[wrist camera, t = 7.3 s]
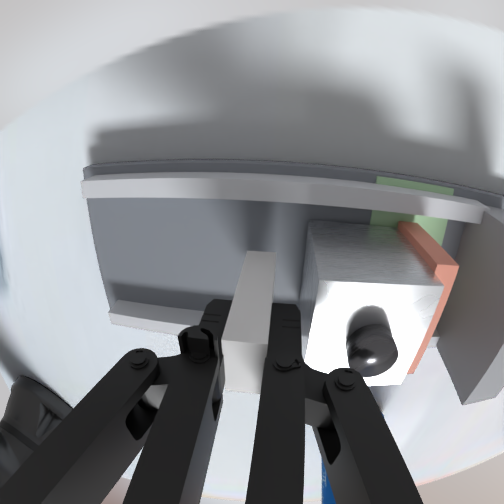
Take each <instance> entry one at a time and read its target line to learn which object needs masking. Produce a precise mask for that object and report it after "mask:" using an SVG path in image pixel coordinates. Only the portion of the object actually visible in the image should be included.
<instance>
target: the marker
mask: <svg viewBox="0 0 504 504" xmlns="http://www.w3.org/2000/svg"><path fill="white" fill-rule="evenodd" d="M397 228H398V229H399V230H400V231H401V232H402V234H403V235H404V236H405V237H406V238H407V239H408V241H409V242H410V243H411V244H412V245H413V247H414V248H415V249H416V250H417V252H418V253H419V254H420V255H421V256H422V258H423V259H424V260H425V262H426V263H427V264H428V265H429V267H430V268H431V269H432V270H433V272H434V273H435V274H436V276H437V277H438V278H439V280H440V281H441V282H442V284H443V285H444V289H443V292H442V294H441V297H440V300H439V302H438V305H437V308H436V310H435V313H434V315H433V318H432V320H431V322H430V325H429V327H428V329H427V332H426V334H425V336H424V338H423V341H422V343H421V345H420V347H419V349H418V351H417V353H416V355H415V357H414V359H413V361H412V363H411V365H410V367H409V369H408V371H407V373H406V374H413V373H414V371H415V369H416V368H417V366H418V364H419V362H420V360H421V358H422V356H423V354H424V352H425V350H426V348H427V346H428V344H429V341H430V339H431V337H432V335H433V333H434V331H435V328H436V326H437V324H438V322H439V319H440V317H441V314H442V312H443V310H444V307H445V305H446V302H447V300H448V297H449V294H450V292H451V289H452V286H453V283H454V281H455V278H456V275H457V272H458V269H459V265H458V264H457V263H456V262H455V261H454V260H453V258H452V257H451V256H450V255H449V254H448V253H447V252H446V251H445V250H444V249H443V248H442V247H441V246H440V245H439V244H438V243H437V242H436V241H435V240H434V239H433V238H432V237H431V236H430V235H429V234H428V233H427V232H426V231H425V230H424V229H423V228H422V227H421V226H420V225H419V224H418V223H414V222H405V221H399V222H398V227H397Z"/></svg>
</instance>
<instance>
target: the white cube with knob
mask: <svg viewBox="0 0 504 504" xmlns="http://www.w3.org/2000/svg"><path fill="white" fill-rule="evenodd" d="M443 289H444V285H443V284H442V282H441V281H440V280H439V278H438V277H437V276H436V274H435V273H434V272H433V270H432V269H431V268H430V267H429V265H428V264H427V263H426V262H425V260H424V259H423V258H422V256H421V255H420V254H419V253H418V252H417V250H416V249H415V248H414V247H413V245H412V244H411V243H410V242H409V241H408V239H407V238H406V237H405V236H404V235H403V234H402V232H401V231H400V230H399V229H398V228H396V227H386V226H375V225H365V224H353V223H342V222H330V221H317V220H309V221H308V231H307V241H306V250H305V259H304V268H303V276H302V285H301V293H300V300H299V310H300V312H301V336H302V357H303V359H304V361H305V362H306V363H307V364H308V365H309V366H310V367H312V368H313V369H316V370H318V371H322V372H325V373H329V372H330V371H331V370H333V369H336V368H339V367H347V368H351V369H354V370H356V371H357V372H359V373H360V374H361V375H362V376H363V378H364V379H365V381H366V383H367V385H368V386H377V385H396V384H401V383H402V381H403V379H404V377H405V375H406V373H407V371H408V369H409V367H410V365H411V363H412V361H413V359H414V357H415V355H416V353H417V351H418V349H419V347H420V345H421V343H422V341H423V338H424V336H425V334H426V332H427V329H428V327H429V325H430V322H431V320H432V318H433V315H434V313H435V310H436V308H437V305H438V302H439V300H440V297H441V294H442V292H443Z"/></svg>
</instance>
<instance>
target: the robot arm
mask: <svg viewBox="0 0 504 504" xmlns="http://www.w3.org/2000/svg"><path fill="white" fill-rule="evenodd" d="M275 266H276V252H262V251H247V253H246V257H245V260H244V263H243V267H242V270H241V274H240V277H239V281H238V284H237V287H236V291H235V294H234V298H233V300H223V299H213V300H212V301H211V302H210V303H209V304H207V305H206V308H205V310H204V313H203V315H202V318H201V321H200V323H199V325H194V326H190V327H187V328H185V329H183V330H182V331H181V332H180V333H179V334H178V340H179V346H180V351H181V354H179V355H176V356H171V357H160V358H157V356H156V354H155V353H154V352H153V351H151V350H149V349H145V348H139V349H134V350H131V351H129V352H128V353H127V354H125V355H124V356H123V357H122V358H121V359H120V360H119V361H118V362H117V363H116V364H115V365H114V366H113V368H112V369H111V370H110V371H109V372H108V373H107V374H106V375H105V376H104V377H103V378H102V379H101V380H100V381H99V382H98V383H97V384H96V385H95V386H94V387H93V388H92V390H91V391H90V392H89V393H88V394H87V395H86V396H85V397H84V398H83V399H82V400H81V401H80V402H79V403H78V404H77V405H76V406H75V408H74V409H73V410H72V409H71V408H70V407H69V406H68V405H67V404H66V403H65V402H63V401H62V400H61V399H60V398H58V397H57V396H56V395H55V394H53V393H52V392H51V391H49V390H48V389H46V388H45V387H43V386H42V385H40V384H39V383H37V382H35V381H34V380H32V379H30V378H27V377H24V376H19V377H18V378H17V379H16V381H15V382H14V383H13V385H12V387H11V395H10V397H9V400H8V403H7V407H6V410H5V414H4V417H3V418H2V420H1V422H0V504H101V503H102V501H103V500H104V498H105V497H106V496H107V495H108V493H109V492H110V491H111V489H112V488H113V487H114V485H115V484H116V482H117V481H118V480H119V479H120V477H121V476H122V475H123V473H124V472H125V471H126V469H127V468H128V467H129V465H130V464H131V463H132V461H133V460H134V459H135V457H136V456H137V454H138V453H139V452H140V450H141V449H142V448H143V450H142V452H141V455H140V458H139V460H138V463H137V466H136V468H135V471H134V474H133V476H132V479H131V482H130V485H129V487H128V490H127V493H126V496H125V498H124V501H123V504H199V503H200V499H201V495H202V491H203V486H204V482H205V478H206V473H207V469H208V465H209V460H210V456H211V452H212V447H213V443H214V439H215V434H216V430H217V426H218V421H219V417H220V412H221V408H222V404H223V395H222V393H223V389H224V385H225V391H234V392H243V393H252V394H260V402H259V409H258V417H257V425H256V432H255V440H254V447H253V454H252V461H251V468H250V475H249V482H248V489H247V495H246V502H245V504H303V489H304V458H305V424H308V425H311V426H312V428H313V431H314V434H315V437H316V440H317V444H318V447H319V450H320V453H321V456H322V460H323V463H324V466H325V469H326V473H327V476H328V479H329V482H330V486H331V489H332V492H333V495H334V498H335V502H336V504H423V502H422V499H421V497H420V495H419V493H418V490H417V488H416V486H415V484H414V481H413V479H412V477H411V475H410V472H409V470H408V468H407V466H406V464H405V461H404V459H403V457H402V455H401V453H400V451H399V449H398V446H397V444H396V442H395V440H394V438H393V436H392V434H391V432H390V430H389V428H388V426H387V424H386V421H385V419H384V417H383V415H382V413H381V411H380V409H379V407H378V405H377V403H376V401H375V399H374V397H373V395H372V393H371V391H370V389H369V387H368V385H367V383H366V381H365V379H364V378H363V376H362V375H361V374H360V373H359V372H357V371H356V370H354V369H351V368H347V367H339V368H336V369H333V370H331V371H330V372H329V373H325V372H322V371H318V370H316V369H313V368H312V367H310V366H309V365H308V364H307V363H306V362H305V361H304V359H303V357H302V336H301V312H300V310H299V309H298V307H297V306H296V304H284V303H273V297H274V282H275ZM143 446H144V447H143Z"/></svg>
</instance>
